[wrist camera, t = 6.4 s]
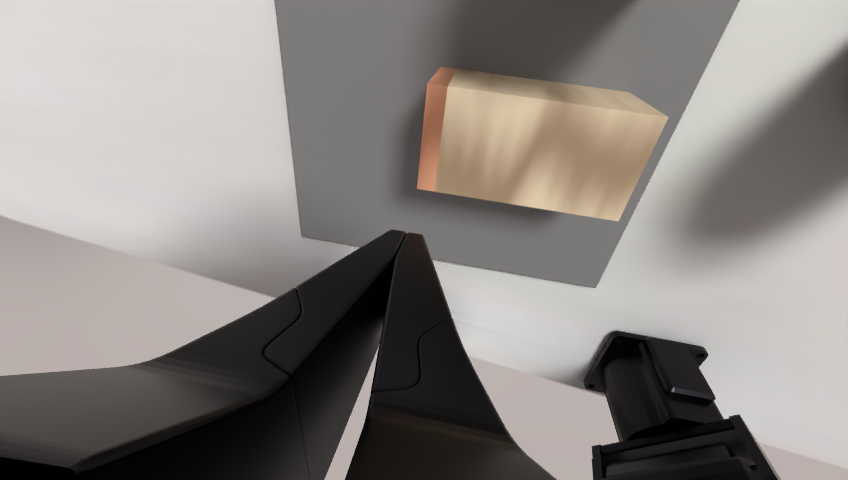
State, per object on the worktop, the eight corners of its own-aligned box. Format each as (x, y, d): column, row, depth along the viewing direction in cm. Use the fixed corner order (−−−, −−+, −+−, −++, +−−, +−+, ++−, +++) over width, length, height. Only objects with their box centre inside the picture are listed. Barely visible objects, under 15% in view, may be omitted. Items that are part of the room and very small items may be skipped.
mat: (593, 282, 24) (595, 288, 23) (305, 231, 25) (301, 236, 25) (805, -151, 12) (818, -157, 12) (260, -197, 14) (251, -204, 13)
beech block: (430, 154, 20) (593, 179, 19) (416, 188, 16) (618, 221, 16) (440, 66, 17) (629, 92, 17) (427, 83, 14) (668, 117, 13)
